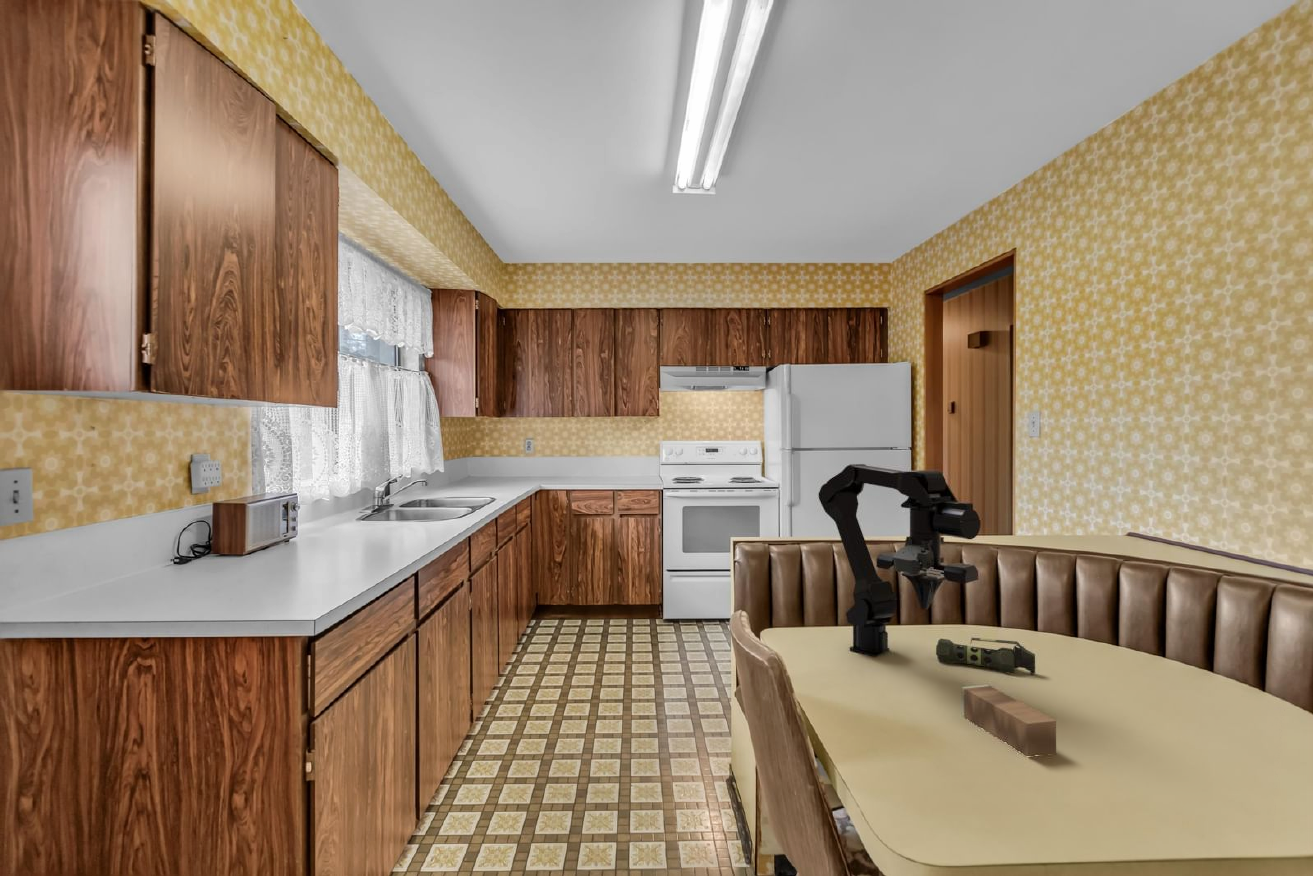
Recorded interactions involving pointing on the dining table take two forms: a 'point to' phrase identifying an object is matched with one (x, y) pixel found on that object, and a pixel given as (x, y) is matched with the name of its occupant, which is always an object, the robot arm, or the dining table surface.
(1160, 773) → the dining table surface
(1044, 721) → the walnut block
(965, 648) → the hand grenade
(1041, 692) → the dining table surface
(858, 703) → the dining table surface
